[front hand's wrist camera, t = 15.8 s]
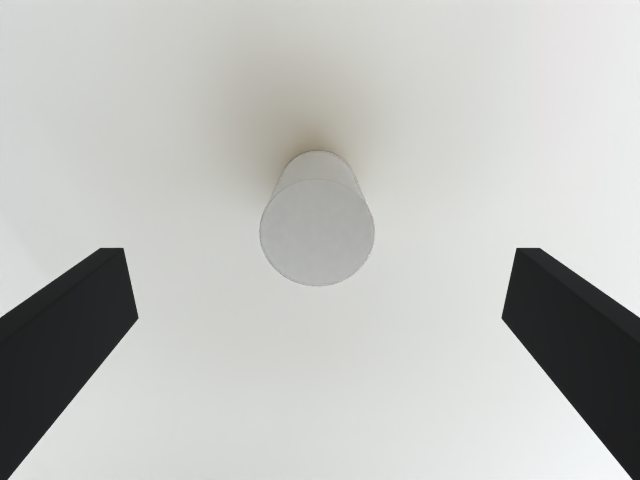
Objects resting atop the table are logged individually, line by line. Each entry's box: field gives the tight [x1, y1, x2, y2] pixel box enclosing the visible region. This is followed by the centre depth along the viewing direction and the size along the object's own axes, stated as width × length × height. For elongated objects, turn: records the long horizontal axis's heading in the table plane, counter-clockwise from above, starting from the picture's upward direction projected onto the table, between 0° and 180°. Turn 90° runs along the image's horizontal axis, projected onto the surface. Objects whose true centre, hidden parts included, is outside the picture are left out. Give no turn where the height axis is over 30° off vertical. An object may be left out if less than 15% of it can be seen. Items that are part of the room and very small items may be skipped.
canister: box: [260, 151, 375, 286], centre depth 21 cm, size 5×5×9 cm
